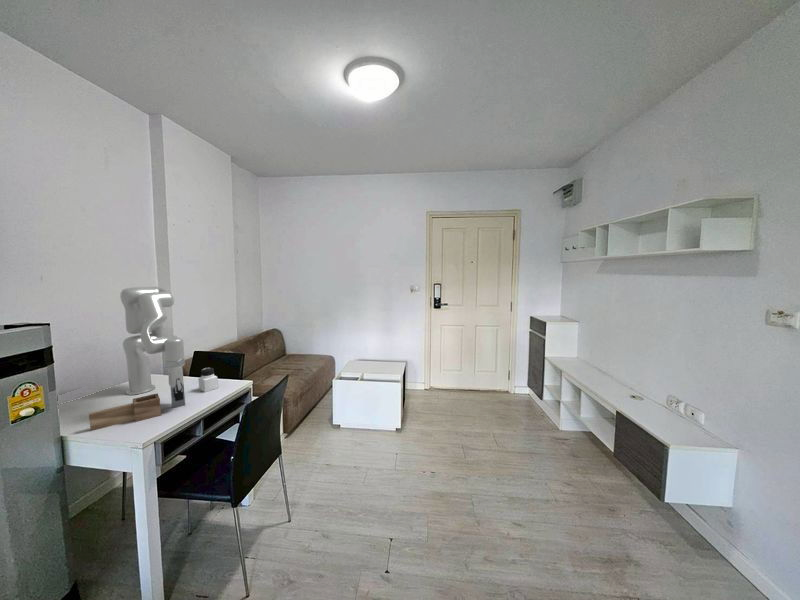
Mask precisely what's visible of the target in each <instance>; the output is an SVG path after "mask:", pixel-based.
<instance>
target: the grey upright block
mask: <svg viewBox="0 0 800 600" xmlns="http://www.w3.org/2000/svg"><path fill="white" fill-rule="evenodd" d="M184 383H185V382H184V381H183V386H182V391H183V400H179V401H175V387H173V388H171V387H170V386H169V387H170V397H171V398H170V399H171V401H170V402H171V408H172V409H176V408H179V407H185V406H186V400H185V399H186V397H185V384H184ZM176 389H177V388H176Z"/></svg>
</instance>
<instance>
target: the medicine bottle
mask: <svg viewBox="0 0 800 600" xmlns="http://www.w3.org/2000/svg"><path fill="white" fill-rule="evenodd" d="M214 370H215V369H214V368H213V367H205V368H203V369H201V370H200V373H201V376H200V377H198V390H199V391H200V392H204V393H207V392H210V391H211V392H212V391H213V390H217V389H218V388H219V381H218V379H219V378H218V376H217V375H215V371H214Z"/></svg>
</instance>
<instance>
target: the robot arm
mask: <svg viewBox="0 0 800 600" xmlns="http://www.w3.org/2000/svg"><path fill="white" fill-rule="evenodd" d="M120 301H121V303H122V305H123V307H124V311H125V312H124V314H125V329H126V332H127V333H128V334H131V336H129V337H126V338H125V339H124V340H123V341H122V347H123V350H124V354H125V358H126V366H127V378H128V389H127V390H126V391H125V394H126V395H130V396H135V395H140V394H141V395H142V394H145V393H148V392H151V391H153V390H155V388H156V385H154V384H152V375H151V373H152V372H151V364H150V363H151V362H150V358H149V356H147V355H146V354H145V353H144V352H146V353H147V354H148V355H149V354H150V355H155V354H160V353H164V359H165V369H168V374H167V375H168V385H169V387H171V388H173V387H175V401H179V400H183V391H182V386H183V382H184V371H183V367H184V366H185V365H186V361H185V360H186V359H185V348H184V347H185V346H184V339H183V338H181V337H178V336H177V335H167V336H164V322H166V321H167V320H168V319H167V318H168V316H167V313H166V311H165V309H164V308H171V307H172V306H173V305H174V303H175V300H174V296H173V294H172V293H171V292H169V290H166V289H164V288H163V287H160V286H147V287H146V286H142V287H141V286H140V287H127V288H124V289H122V290H121V292H120ZM138 334H139V335H138ZM171 388H170V389H171ZM176 388H177V389H176Z"/></svg>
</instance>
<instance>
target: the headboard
mask: <svg viewBox="0 0 800 600" xmlns="http://www.w3.org/2000/svg"><path fill="white" fill-rule="evenodd" d="M161 408H162V407H161V398H160V396H159V393H158V392H157V393H153V394H148V395H145V396H139V397H134V398H132V402H131V403H128V404H127V403H126V404H123V405H120V406H119V405H118V406H115V407H111V408H109V407H108V408H105V409H101V410H97V411H92V412H89V413H88V418H89V419H88V420H89V429H90V432H92V431H93V432H94V431H96V430H100V429H103V428H107V427H111V426H115V425H120V424H124V423H127V422H132V421H135V423H137V422H142V421H145V420H148V419H153V418H156V417H160V416H162V410H161Z"/></svg>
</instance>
